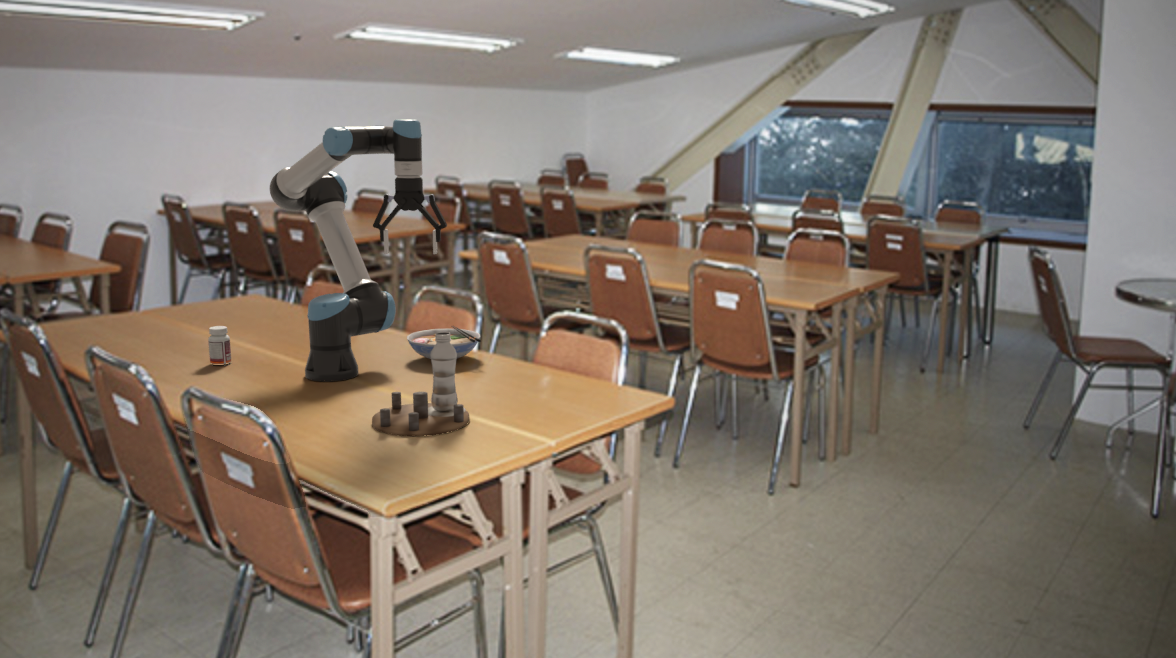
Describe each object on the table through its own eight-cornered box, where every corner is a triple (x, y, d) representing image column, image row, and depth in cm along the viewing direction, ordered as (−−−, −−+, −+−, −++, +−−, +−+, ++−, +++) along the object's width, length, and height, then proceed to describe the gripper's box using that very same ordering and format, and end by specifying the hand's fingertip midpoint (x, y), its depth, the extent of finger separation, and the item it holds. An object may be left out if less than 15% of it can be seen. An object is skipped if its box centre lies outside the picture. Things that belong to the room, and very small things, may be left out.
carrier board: (362, 436, 244) (361, 407, 242) (382, 407, 267) (381, 380, 266) (463, 436, 244) (462, 407, 242) (474, 407, 267) (473, 381, 266)
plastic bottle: (432, 407, 264) (429, 331, 259) (458, 406, 264) (456, 330, 260) (430, 414, 257) (428, 336, 253) (457, 413, 258) (455, 336, 254)
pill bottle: (227, 360, 316) (224, 324, 313) (234, 364, 311) (232, 327, 309) (207, 363, 312) (204, 327, 309) (214, 367, 307) (211, 330, 305)
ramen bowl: (398, 353, 325) (397, 328, 323) (468, 347, 334) (467, 322, 332) (418, 372, 303) (417, 345, 301) (491, 365, 311) (491, 338, 310)
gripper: (360, 177, 278) (363, 255, 282) (452, 177, 278) (453, 255, 282) (366, 175, 285) (369, 251, 290) (455, 176, 285) (457, 251, 290)
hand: (411, 253), depth 286 cm, fingers open, 13 cm apart
